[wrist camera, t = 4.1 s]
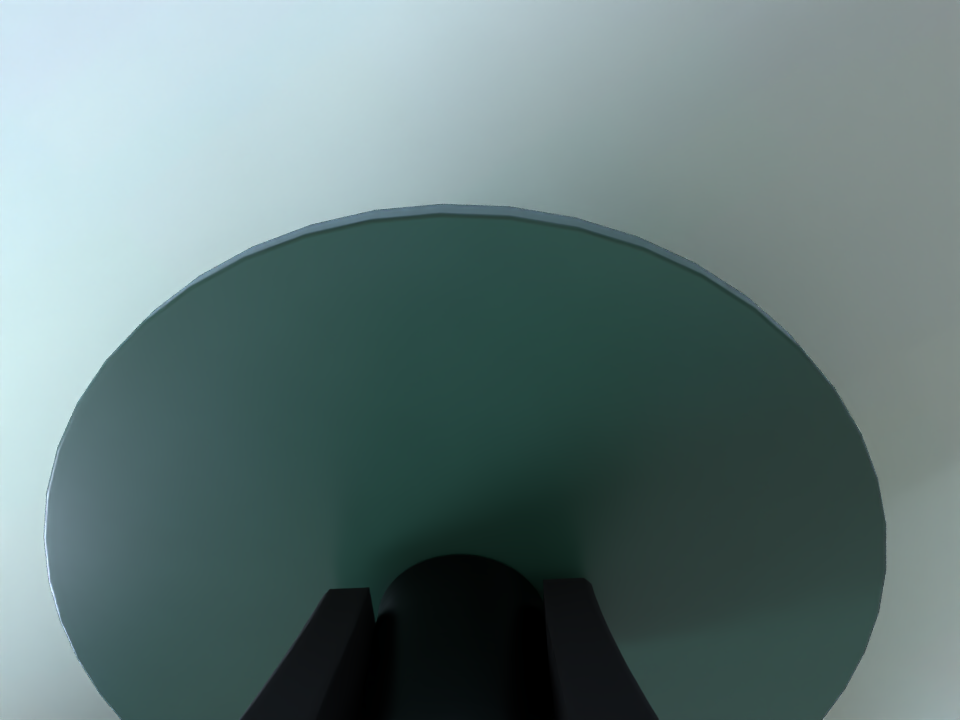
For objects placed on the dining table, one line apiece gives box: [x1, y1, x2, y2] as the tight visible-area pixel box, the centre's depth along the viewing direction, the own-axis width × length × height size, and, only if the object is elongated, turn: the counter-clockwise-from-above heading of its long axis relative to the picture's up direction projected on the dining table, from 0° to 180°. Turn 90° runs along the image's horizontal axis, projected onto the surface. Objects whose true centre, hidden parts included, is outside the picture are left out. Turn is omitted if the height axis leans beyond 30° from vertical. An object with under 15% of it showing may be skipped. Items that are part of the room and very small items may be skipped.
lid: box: [44, 204, 886, 720], centre depth 11 cm, size 13×13×4 cm
